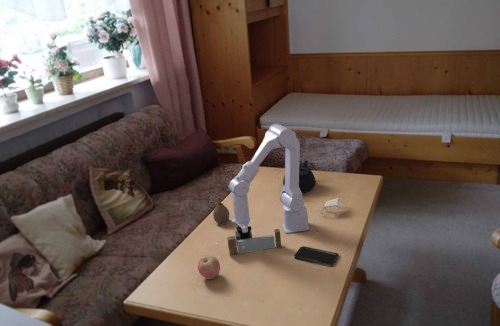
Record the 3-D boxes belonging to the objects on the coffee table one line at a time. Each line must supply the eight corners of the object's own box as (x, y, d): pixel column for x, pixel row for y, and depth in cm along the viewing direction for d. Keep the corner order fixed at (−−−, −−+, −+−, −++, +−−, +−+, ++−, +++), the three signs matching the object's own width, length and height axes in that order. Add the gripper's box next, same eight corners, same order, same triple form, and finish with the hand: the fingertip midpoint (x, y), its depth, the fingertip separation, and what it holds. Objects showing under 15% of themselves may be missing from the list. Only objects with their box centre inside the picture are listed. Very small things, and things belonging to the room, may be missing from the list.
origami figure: (338, 220, 190) (338, 210, 189) (319, 216, 195) (318, 206, 193) (348, 207, 200) (348, 197, 198) (329, 204, 204) (329, 194, 202)
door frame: (280, 244, 177) (278, 228, 175) (281, 247, 175) (280, 231, 173) (229, 252, 175) (227, 237, 173) (229, 256, 173) (227, 240, 170)
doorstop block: (251, 240, 183) (250, 229, 181) (252, 245, 179) (251, 234, 177) (236, 242, 182) (235, 231, 180) (237, 247, 178) (236, 236, 176)
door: (274, 245, 177) (273, 234, 175) (275, 248, 174) (274, 237, 173) (238, 251, 175) (236, 240, 173) (238, 254, 173) (237, 243, 171)
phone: (301, 245, 174) (339, 253, 167) (301, 248, 174) (339, 256, 167) (293, 256, 168) (332, 265, 160) (293, 259, 168) (332, 268, 161)
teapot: (308, 201, 208) (307, 177, 204) (276, 198, 214) (274, 174, 210) (322, 179, 229) (321, 156, 225) (292, 176, 235) (291, 154, 231)
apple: (196, 274, 164) (193, 255, 161) (216, 267, 167) (214, 249, 164) (203, 286, 158) (200, 266, 154) (224, 279, 160) (221, 260, 157)
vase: (228, 226, 194) (225, 207, 191) (212, 226, 196) (209, 207, 192) (231, 218, 200) (229, 200, 197) (216, 218, 202) (214, 200, 199)
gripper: (228, 201, 181) (232, 231, 186) (232, 219, 168) (236, 251, 173) (246, 199, 182) (249, 229, 187) (252, 216, 168) (255, 248, 173)
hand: (244, 239), depth 180 cm, fingers closed on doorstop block, 4 cm apart
